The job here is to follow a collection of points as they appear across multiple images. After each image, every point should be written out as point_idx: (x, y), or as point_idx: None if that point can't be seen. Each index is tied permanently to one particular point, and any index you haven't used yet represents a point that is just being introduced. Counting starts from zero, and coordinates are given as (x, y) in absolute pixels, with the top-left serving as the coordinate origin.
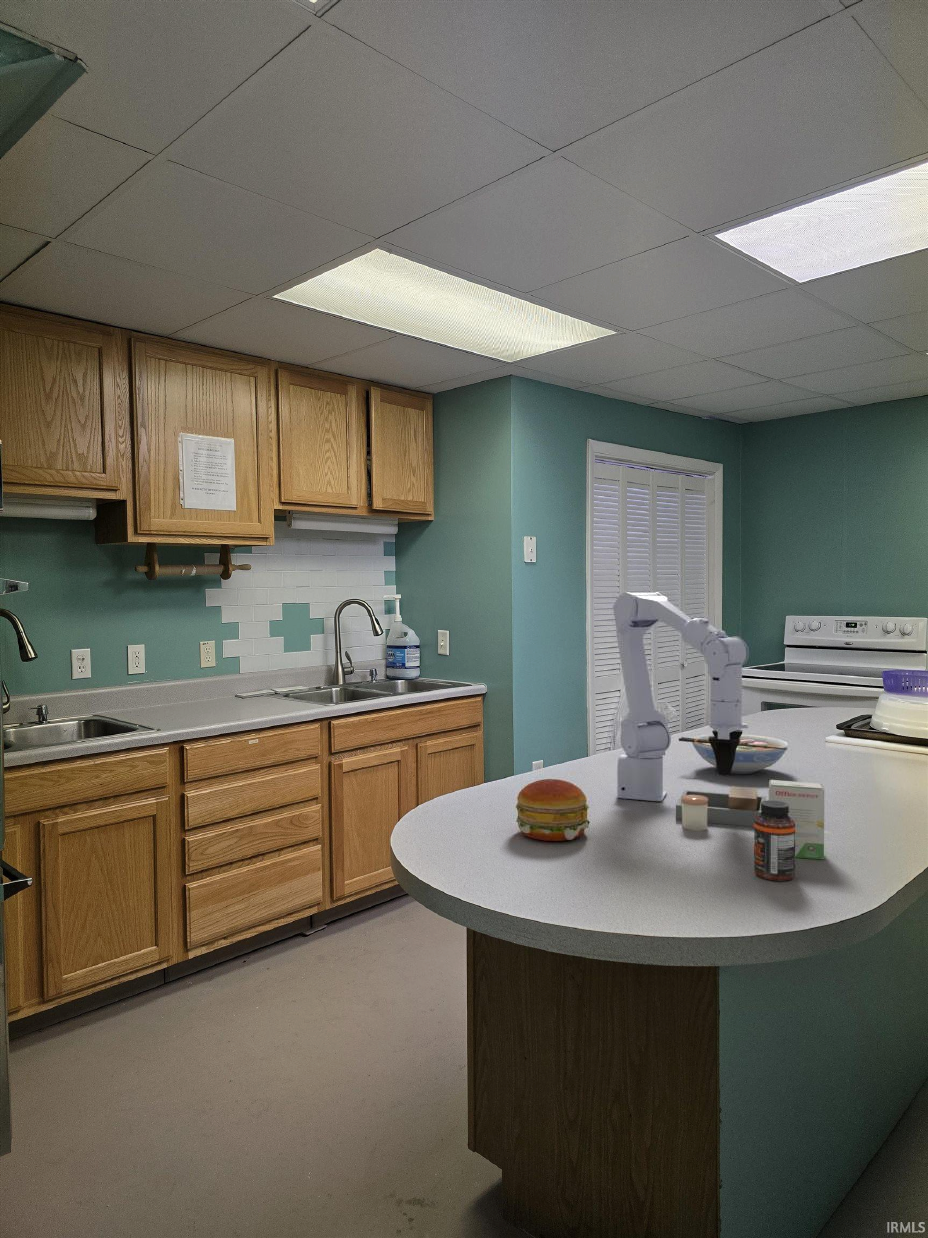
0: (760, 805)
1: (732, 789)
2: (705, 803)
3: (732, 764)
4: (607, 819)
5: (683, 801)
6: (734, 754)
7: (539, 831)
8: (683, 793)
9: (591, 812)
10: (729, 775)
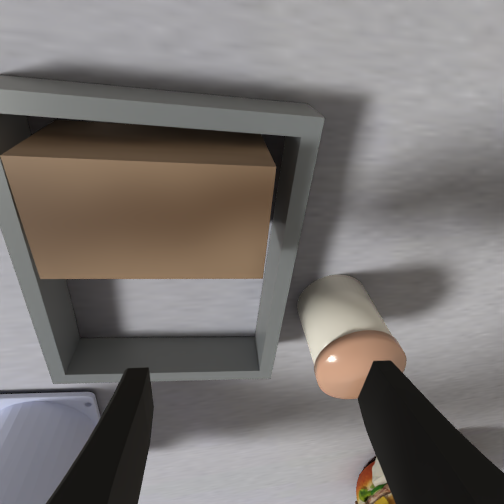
0: (184, 127)
1: (106, 270)
2: (391, 336)
3: (443, 416)
4: (295, 435)
5: None
6: (124, 451)
7: None
8: (107, 380)
9: (249, 460)
10: (391, 363)
